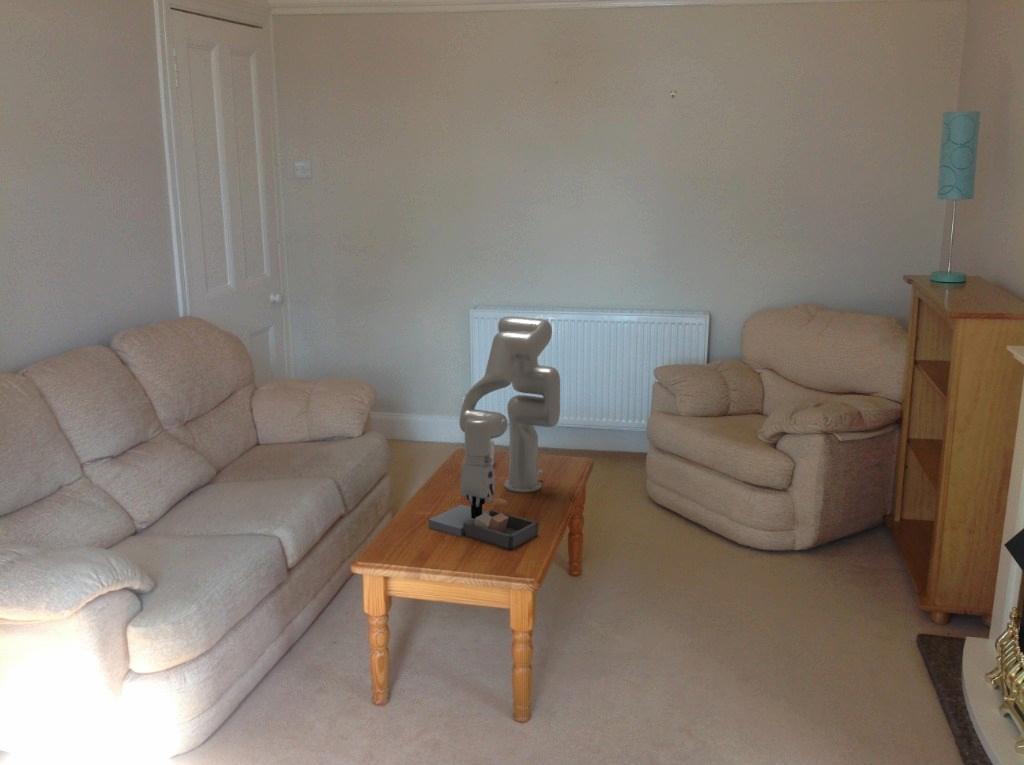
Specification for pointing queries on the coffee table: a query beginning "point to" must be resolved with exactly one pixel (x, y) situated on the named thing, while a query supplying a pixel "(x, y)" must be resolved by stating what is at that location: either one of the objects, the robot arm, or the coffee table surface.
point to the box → (511, 538)
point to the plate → (453, 520)
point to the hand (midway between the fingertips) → (476, 517)
